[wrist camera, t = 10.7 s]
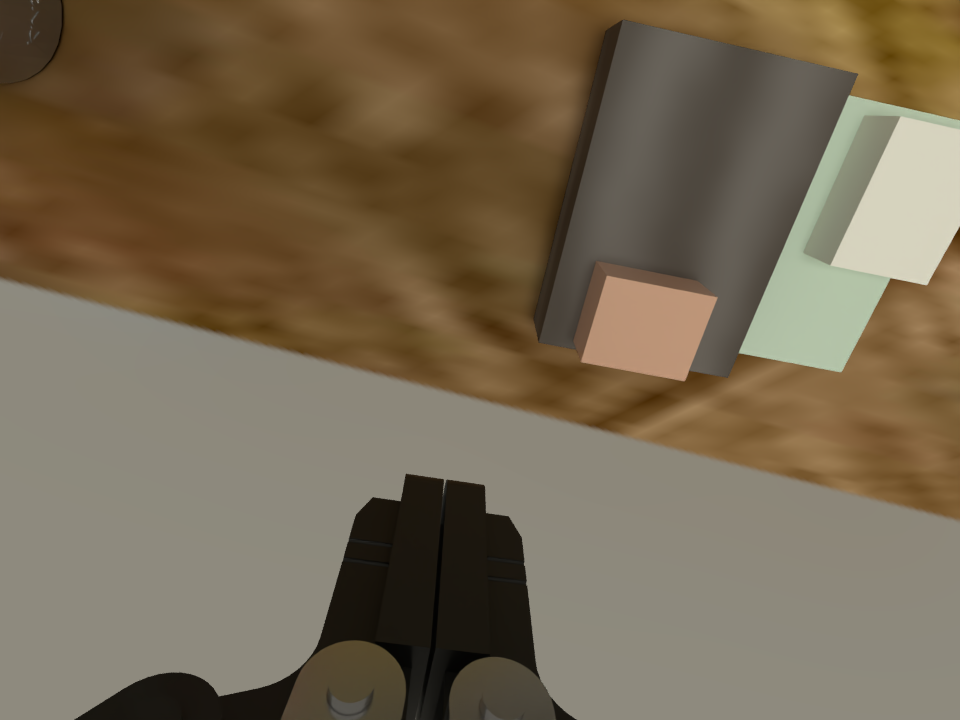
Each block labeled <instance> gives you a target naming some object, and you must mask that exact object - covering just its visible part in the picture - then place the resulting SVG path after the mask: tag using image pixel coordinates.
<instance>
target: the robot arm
mask: <svg viewBox="0 0 960 720" xmlns="http://www.w3.org/2000/svg"><path fill="white" fill-rule="evenodd" d="M61 27H62V6H61V1H60V0H0V83H14V82H18V81H22V80H25V79H28V78H30V77H31V76H33V75H35V74H36V73H38V72H39V71H41V70H42V69H43V67H44V66H45V65H46V64H47V63H48V62H49V61H50V60H51V58H52V56H53V54H54V51H55V49H56V47H57V45H58V42H59V37H60V32H61ZM443 485H444V480H443V479H437V478H431V477H424V476H418V475H411V474H406V476H405V482H404V487H403V493H402V498H401V501H395V500H387V499H381V498H374V497H373V498H372V499H371V500H370V501H369V502H368V503H367V504H366V505H365V506H364V507H363V508H362V509H361V510H360V511H359V512H358V513H357V514H356V517H355V520H354V523H353V526H352V530H351V533H350V537H349V542H348V544H347V547H346V551H345V554H344V559H343V562H342V565H341V568H340V571H339V575H338V578H337V582H336V585H335V589H334V592H333V596H332V600H331V603H330V606H329V610H328V613H327V617H326V620H325V624H324V627H323V630H322V634H321V637H320V640H319V642H318V645H317V647H316V649H315V650H314V652H313V654H312V655H311V656H310V658H309V659H308V660H307V661H306V662H305V663H304V664H303V665H302V666H301V667H300V668H299V669H298V670H297V671H295V672H294V673H292V674H291V675H290V676H288V677H286V678H284V679H283V680H281V681H279V682H277V683H274V684H271V685H269V686H265V687H262V688H258V689H253V690H248V691H244V692H239V693H234V694H229V695H224V696H219V697H218V695H217V693H216V692H215V690H214V688H213V687H212V686H211V685H209V683H208V682H206V681H205V680H203V679H201V678H199V677H197V676H194V675H191V674H186V673H164V674H158V675H154V676H151V677H147V678H145V679H142V680H140V681H138V682H135V683H133V684H132V685H130V686H128V687H126V688H124V689H123V690H121V691H120V692H118V693H116V694H115V695H113V696H112V697H110V698H108V699H107V700H105V701H104V702H102V703H100V704H99V705H97V706H96V707H94V708H92V709H91V710H89V711H88V712H86V713H85V714H83V715H81V716H80V717H78V718H76V719H75V720H576V719H574V718H573V717H572V716H570V715H569V714H567V713H566V712H565V711H564V710H563V709H562V708H560V707H559V706H558V705H557V704H556V703H555V701H554V700H553V699H552V698H551V697H550V695H549V693H548V691H547V689H546V688H545V686H544V685H543V683H542V682H541V680H540V677H539V674H538V671H537V667H536V661H535V652H534V643H533V634H532V626H531V616H530V607H529V598H528V589H527V586H526V581H527V580H526V572H525V566H524V554H523V545H522V537H521V536H520V534H519V533H518V531H517V529H516V528H515V526H514V524H513V523H512V521H511V520H510V518H509V517H508V516H502V515H495V514H488V513H486V505H485V504H486V502H485V486H484V485H480V484H474V483H467V482H459V481H453V480H446V483H445V488H444V493H443Z"/></svg>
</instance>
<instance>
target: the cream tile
mask: <svg viewBox="0 0 960 720" xmlns="http://www.w3.org/2000/svg"><path fill="white" fill-rule="evenodd" d="M959 226H960V130H959V129H955V128H950V127H946V126H942V125H937V124H933V123H928V122H924V121H920V120H915V119H911V118H906V117H902V116H869V115H864V118H863V120H862V122H861V124H860V127H859V129H858V131H857V133H856V135H855V138H854V140H853V142H852V144H851V147H850V149H849V151H848V153H847V156H846V158H845V160H844V162H843V165H842V167H841V169H840V171H839V174H838V176H837V178H836V180H835V183H834V185H833V187H832V189H831V192H830V194H829V196H828V198H827V200H826V203H825V205H824V207H823V209H822V212H821V214H820V216H819V218H818V221H817V223H816V225H815V227H814V230H813V232H812V234H811V236H810V239H809V241H808V243H807V245H806V248H805V250H804V252H803V253H804V254H806V255H809V256H811V257H813V258H815V259H817V260H819V261H822V262H824V263H826V264H828V265H830V266H835V267H840V268H845V269H850V270H855V271H860V272H864V273H869V274H874V275H879V276H884V277H889V278H894V279H899V280H904V281H909V282H913V283H918V284H923V285H927V284H928V282H929V280H930V278H931V277H932V275H933V273H934V271H935V269H936V268H937V266H938V264H939V262H940V260H941V259H942V257H943V255H944V253H945V251H946V250H947V248H948V246H949V244H950V242H951V241H952V239H953V237H954V235H955V233H956V232H957V230H958V228H959Z"/></svg>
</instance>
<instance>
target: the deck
mask: <svg viewBox="0 0 960 720" xmlns="http://www.w3.org/2000/svg"><path fill="white" fill-rule="evenodd" d="M857 76H858V74H856V73H852V72H848V71H843V70H839V69H835V68H830V67H826V66H822V65H817V64H813V63H809V62H804V61H800V60H796V59H791V58H787V57H783V56H778V55H774V54H770V53H765V52H761V51H757V50H752V49H748V48H744V47H739V46H735V45H731V44H726V43H722V42H718V41H713V40H709V39H705V38H700V37H696V36H692V35H687V34H683V33H679V32H674V31H670V30H666V29H661V28H657V27H653V26H648V25H644V24H640V23H635V22H631V21H627V20H622V21H620V22H619V23H617V24H615V25H614V26H612V27H611V28H609V29H608V30H606V34H605V38H604V42H603V46H602V50H601V54H600V58H599V61H598V65H597V69H596V73H595V77H594V81H593V85H592V89H591V93H590V97H589V101H588V105H587V109H586V113H585V117H584V121H583V125H582V129H581V133H580V137H579V141H578V145H577V149H576V153H575V157H574V161H573V165H572V169H571V173H570V177H569V181H568V185H567V189H566V193H565V197H564V201H563V205H562V209H561V213H560V217H559V221H558V224H557V228H556V232H555V236H554V240H553V244H552V248H551V252H550V256H549V260H548V264H547V268H546V272H545V276H544V280H543V284H542V288H541V292H540V296H539V300H538V304H537V308H536V312H535V316H534V323H535V328H536V332H537V337H538V341H539V343H544V344H549V345H554V346H560V347H565V348H571V349H576V347H575V345H574V342H573V340H574V336H575V333H576V330H577V326H578V323H579V319H580V316H581V312H582V309H583V305H584V302H585V298H586V295H587V291H588V288H589V284H590V281H591V278H592V274H593V271H594V267H595V264H596V261H599V262H605V263H610V264H615V265H620V266H625V267H630V268H635V269H640V270H645V271H650V272H655V273H660V274H665V275H670V276H675V277H680V278H685V279H690V280H695V281H698V282H700V283H701V284H702V285H703V286H704V287H706V288H707V289H708V290H709V291H711V292H712V293H713V294H714V295H715V296H717V297H718V298H717V301H716V303H715V306H714V308H713V311H712V313H711V316H710V318H709V321H708V323H707V326H706V328H705V331H704V334H703V336H702V339H701V341H700V344H699V346H698V349H697V351H696V354H695V356H694V359H693V362H692V364H691V367H690V369H689V371H694V372H700V373H705V374H711V375H716V376H721V377H727V378H728V376H729V374H730V372H731V369H732V367H733V365H734V362H735V360H736V358H737V355H738V353H739V351H740V348H741V346H742V344H743V341H744V339H745V337H746V334H747V332H748V330H749V327H750V325H751V323H752V320H753V318H754V316H755V313H756V311H757V309H758V306H759V304H760V302H761V299H762V297H763V295H764V292H765V290H766V288H767V285H768V283H769V281H770V278H771V276H772V274H773V271H774V269H775V267H776V264H777V262H778V260H779V257H780V255H781V253H782V250H783V248H784V246H785V243H786V241H787V239H788V236H789V234H790V232H791V229H792V227H793V225H794V222H795V220H796V218H797V215H798V213H799V211H800V208H801V206H802V204H803V201H804V199H805V197H806V194H807V192H808V190H809V187H810V185H811V183H812V180H813V178H814V176H815V173H816V171H817V169H818V166H819V164H820V162H821V159H822V157H823V155H824V152H825V150H826V148H827V145H828V143H829V141H830V139H831V136H832V134H833V132H834V129H835V127H836V125H837V122H838V120H839V118H840V115H841V113H842V111H843V108H844V106H845V104H846V101H847V99H848V97H849V94H850V92H851V90H852V87H853V85H854V83H855V80H856V78H857Z"/></svg>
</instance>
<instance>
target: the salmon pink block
mask: <svg viewBox="0 0 960 720" xmlns="http://www.w3.org/2000/svg"><path fill="white" fill-rule="evenodd" d="M717 298H718V297H717V296H715V295H714V294H713V293H712V292H711V291H709V290H708V289H707V288H706V287H704V286H703V285H702V284H701V283H700V282H698V281H695V280H690V279H685V278H680V277H675V276H670V275H665V274H660V273H655V272H650V271H645V270H640V269H635V268H630V267H625V266H620V265H615V264H610V263H605V262H599V261H596V264H595V267H594V271H593V274H592V278H591V281H590V284H589V288H588V291H587V295H586V298H585V302H584V305H583V309H582V312H581V316H580V319H579V323H578V326H577V330H576V333H575V336H574V340H573V342H574V345H575V347H576V350H577V353H578V355H579V358H580V361H581V362H583V363H589V364H594V365H600V366H605V367H610V368H616V369H621V370H627V371H632V372H638V373H643V374H648V375H654V376H659V377H665V378H670V379H676V380H681V381H685V379H686V377H687V374H688V372H689V369H690V367H691V364H692V362H693V359H694V356H695V354H696V351H697V349H698V346H699V344H700V341H701V339H702V336H703V334H704V331H705V328H706V326H707V323H708V321H709V318H710V316H711V313H712V311H713V308H714V306H715V303H716V301H717Z"/></svg>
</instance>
